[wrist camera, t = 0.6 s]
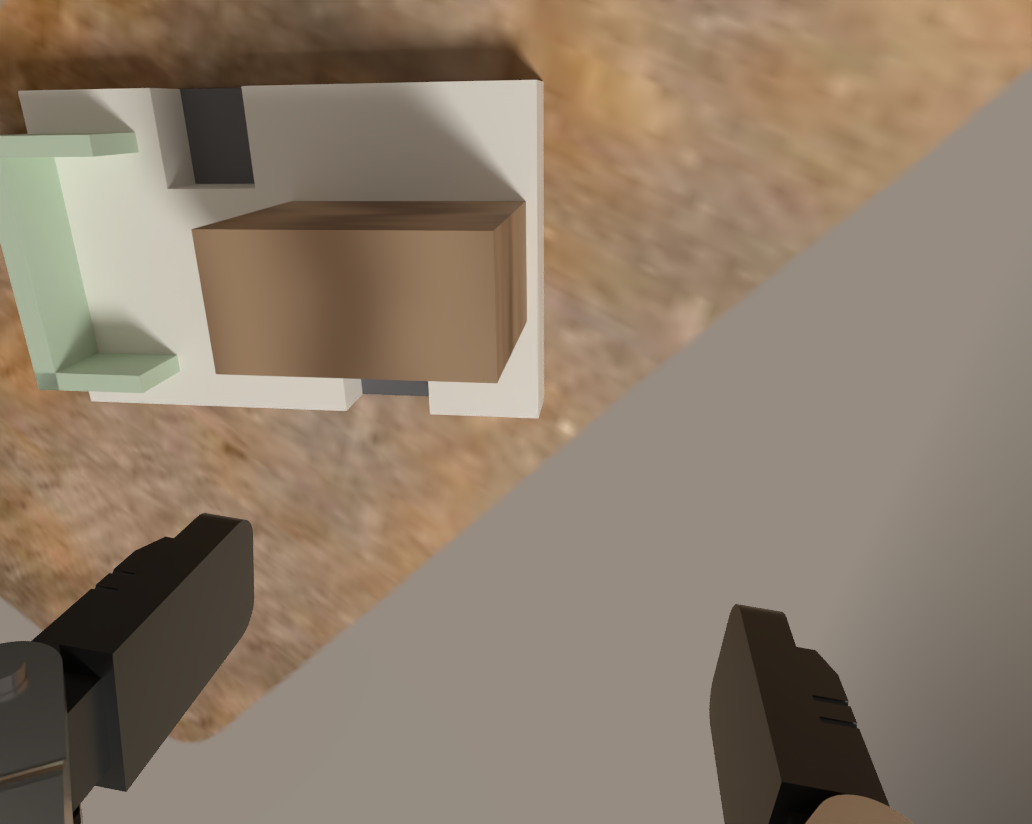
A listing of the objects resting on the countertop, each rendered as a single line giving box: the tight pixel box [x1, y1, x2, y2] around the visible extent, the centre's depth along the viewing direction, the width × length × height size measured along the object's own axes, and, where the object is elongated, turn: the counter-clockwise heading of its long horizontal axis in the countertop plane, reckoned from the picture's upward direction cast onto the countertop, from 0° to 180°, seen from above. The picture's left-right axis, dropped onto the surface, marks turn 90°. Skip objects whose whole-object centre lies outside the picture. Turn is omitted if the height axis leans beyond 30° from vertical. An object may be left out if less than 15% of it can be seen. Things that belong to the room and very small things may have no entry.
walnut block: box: [191, 201, 527, 383], centre depth 29 cm, size 10×5×8 cm, turn 91°
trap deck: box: [0, 80, 544, 418], centre depth 33 cm, size 22×14×6 cm, turn 91°
